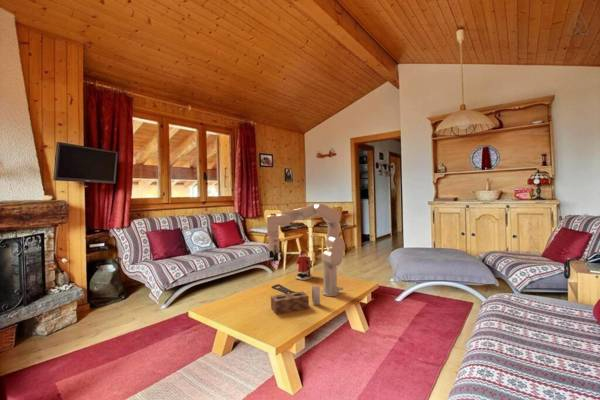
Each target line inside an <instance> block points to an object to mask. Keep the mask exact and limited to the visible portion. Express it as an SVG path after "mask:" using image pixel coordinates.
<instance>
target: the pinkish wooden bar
mask: <svg viewBox="0 0 600 400" xmlns="http://www.w3.org/2000/svg"><path fill="white" fill-rule="evenodd" d="M320 291H321V289H320V286H319V285H314V286H311V294H312V297H311V298H312V306H313V307H314V306H319V305H321V296H320Z"/></svg>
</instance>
